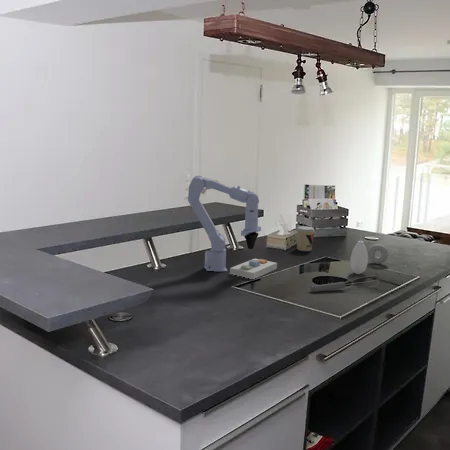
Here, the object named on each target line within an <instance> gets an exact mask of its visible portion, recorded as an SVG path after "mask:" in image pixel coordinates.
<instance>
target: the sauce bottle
mask: <svg viewBox="0 0 450 450" xmlns="http://www.w3.org/2000/svg"><path fill="white" fill-rule="evenodd" d="M362 237H363V236H360V239H359V240H358V241H357V243H356V244H355V245H354V246H353V249H352V251H351V253H350V254H351V255H350V260H349V263H350V264H349V265H350V268H351V271H353V272H354V274H356V275H362V274H363V273H364V272H365V270H366V269H367V267H368V262H369V257H368V250H367V248H366V245H365V244H364V243H365V242H364V241H363V240H362Z"/></svg>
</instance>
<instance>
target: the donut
mask: <svg viewBox="0 0 450 450" xmlns="http://www.w3.org/2000/svg"><path fill="white" fill-rule="evenodd" d="M376 252H380V253H381V255H380V256H376ZM367 254H368V260H370V261H371V262H372V263H373V264H377V265H381V264H384V263H385V262H387V260H388V259H389V251H388V249H387V248H386V246H384V245H383V244H379V243H378V244H377V243H376V244H373V245H371V246H370V247H369V249H368V250H367Z"/></svg>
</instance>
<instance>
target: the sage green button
mask: <svg viewBox="0 0 450 450" xmlns="http://www.w3.org/2000/svg"><path fill="white" fill-rule="evenodd" d="M241 269H243V270H251V269H252V266H248V265H244V266H241Z"/></svg>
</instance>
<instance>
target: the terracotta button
mask: <svg viewBox="0 0 450 450" xmlns="http://www.w3.org/2000/svg"><path fill="white" fill-rule="evenodd" d="M258 259H259V260H257V261H260V263H261V264H265V263H267V261H268V260H267V259H263V258H258Z"/></svg>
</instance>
